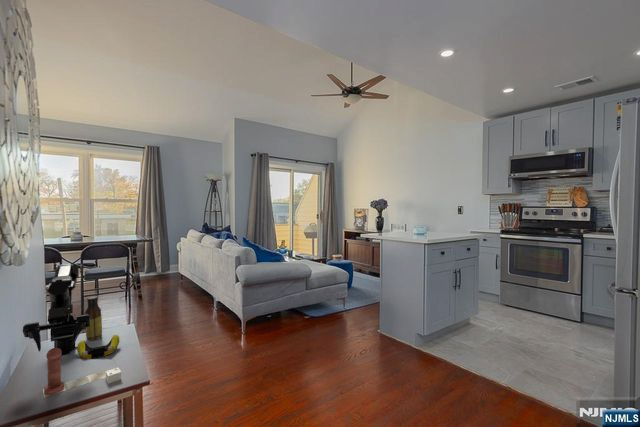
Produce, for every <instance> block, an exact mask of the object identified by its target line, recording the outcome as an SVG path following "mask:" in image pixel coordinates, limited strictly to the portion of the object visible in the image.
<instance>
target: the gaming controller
mask: <svg viewBox="0 0 640 427" xmlns="http://www.w3.org/2000/svg"><path fill="white" fill-rule="evenodd" d="M119 343H120V336H119V335H118V334H113V336H112V337H111V338H110V340H109V342H108V343H107V344H105V345H100V346H95V347H90V346H89V345H88V343H87V341H85V340H80V341H79V343H77V345H76V347H77V348H76V349H77V350H76V351H77V354H78V356H79V357H80V359H82V360H91V359H95V358H96V359H97V358H100V357H102V358H103V357H106V356H108V355H111V354H112V353H114V352H115V351H116V350H117V348H118V346H119Z"/></svg>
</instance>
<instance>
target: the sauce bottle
mask: <svg viewBox="0 0 640 427" xmlns="http://www.w3.org/2000/svg"><path fill="white" fill-rule="evenodd" d="M86 300H87V308H86V309H85V311H84V315H87V314H88V315H89V316H90V326H89V327H86V329H85V337H86V340H87V341H94V340H95V341H96V340H99V339H100V338H102V336H103V321H102V308H100V307H99V303H98V300H99V297H98V296H96V295H94V296H92V295H91V296H90V297H87V298H86Z"/></svg>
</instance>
